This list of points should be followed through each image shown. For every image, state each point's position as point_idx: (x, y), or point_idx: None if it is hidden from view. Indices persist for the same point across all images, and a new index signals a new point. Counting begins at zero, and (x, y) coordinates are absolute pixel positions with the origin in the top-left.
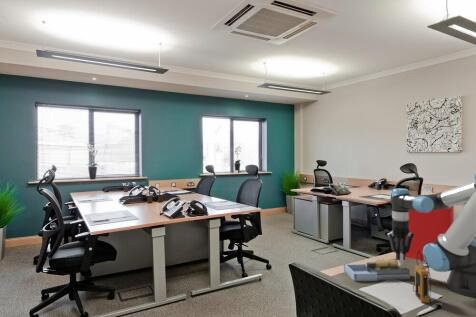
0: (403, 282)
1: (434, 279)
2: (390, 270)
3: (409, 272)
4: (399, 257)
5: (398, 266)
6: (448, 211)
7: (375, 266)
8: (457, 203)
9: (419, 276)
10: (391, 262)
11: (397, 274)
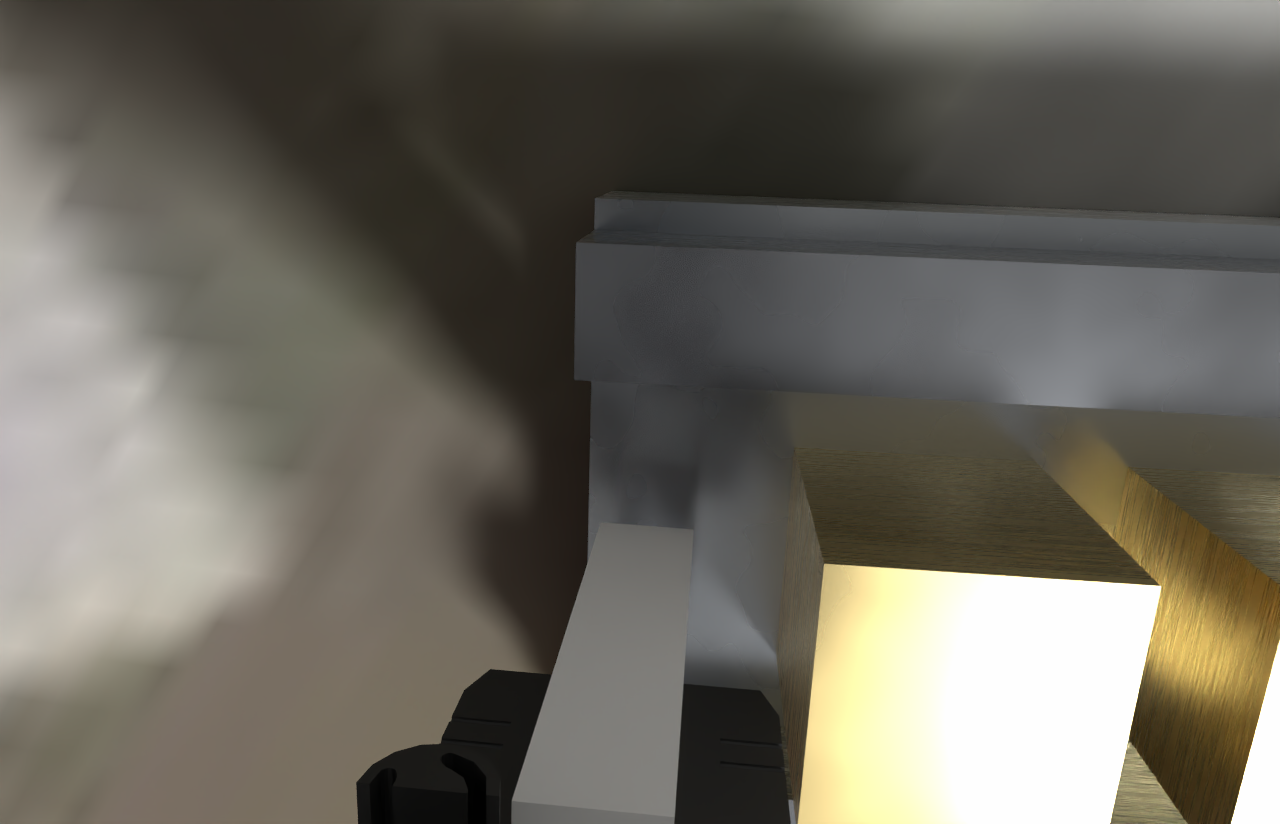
0: (923, 2)
1: (28, 109)
2: (1262, 273)
3: (589, 235)
4: (689, 751)
5: None
6: None
7: None
8: None
9: None
10: (1113, 576)
11: (993, 213)
